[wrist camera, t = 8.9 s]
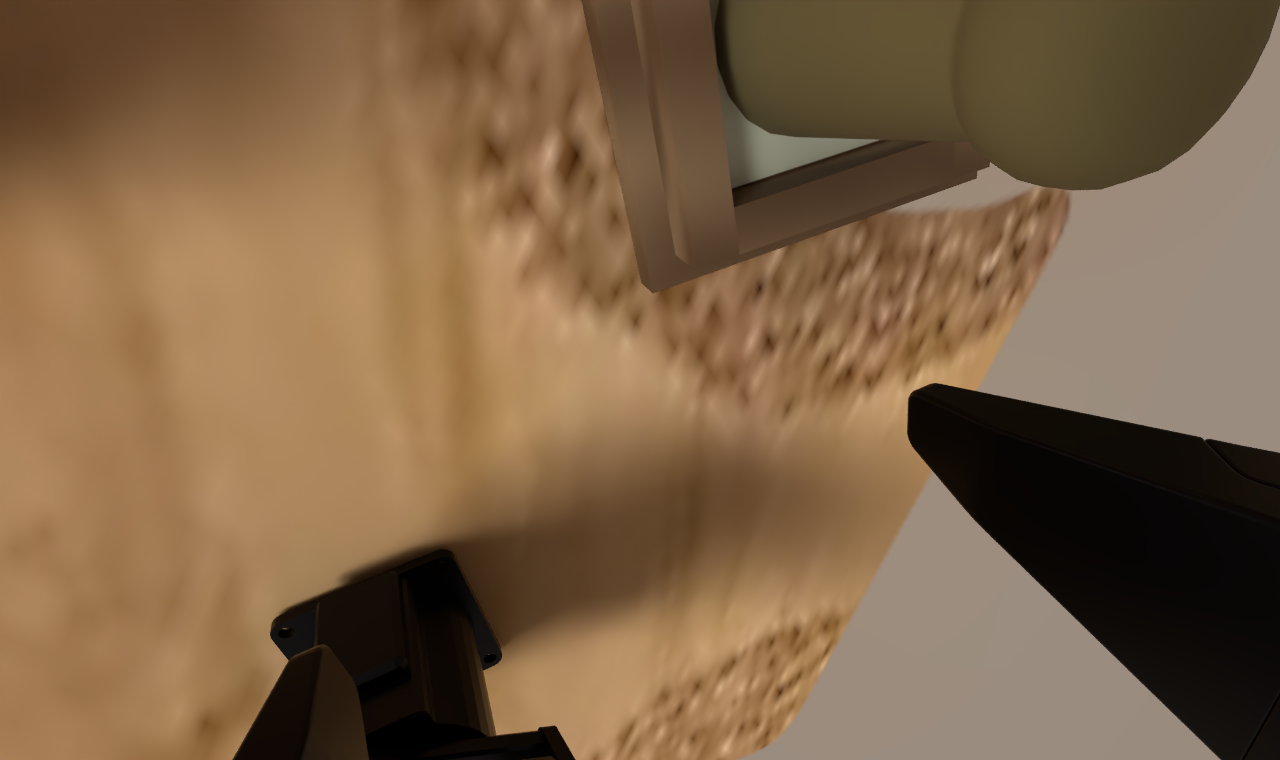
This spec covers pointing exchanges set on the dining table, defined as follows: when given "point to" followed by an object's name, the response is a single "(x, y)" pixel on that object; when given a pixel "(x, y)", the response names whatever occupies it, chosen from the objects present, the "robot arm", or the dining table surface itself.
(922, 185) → the brown picture frame
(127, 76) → the dining table surface
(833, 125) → the olive bulb-ended cylinder
